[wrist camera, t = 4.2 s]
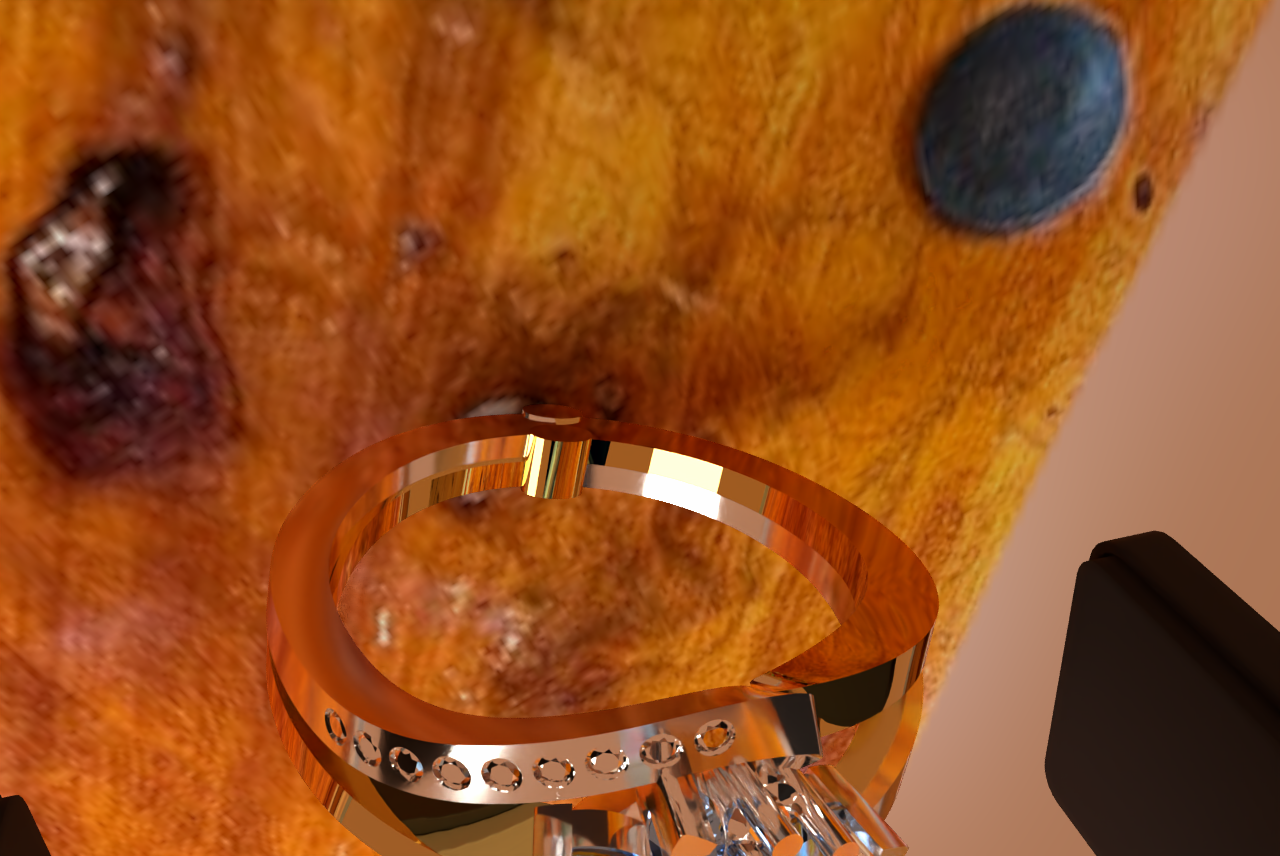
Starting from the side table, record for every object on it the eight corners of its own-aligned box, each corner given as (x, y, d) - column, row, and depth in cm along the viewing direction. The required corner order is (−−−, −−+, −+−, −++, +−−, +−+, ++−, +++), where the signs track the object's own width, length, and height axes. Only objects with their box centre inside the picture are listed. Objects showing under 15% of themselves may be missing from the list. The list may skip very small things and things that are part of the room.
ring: (806, 342, 16) (1156, 754, 9) (755, 535, 18) (1026, 1012, 11) (285, 301, 14) (248, 786, 7) (274, 522, 16) (234, 1099, 9)
